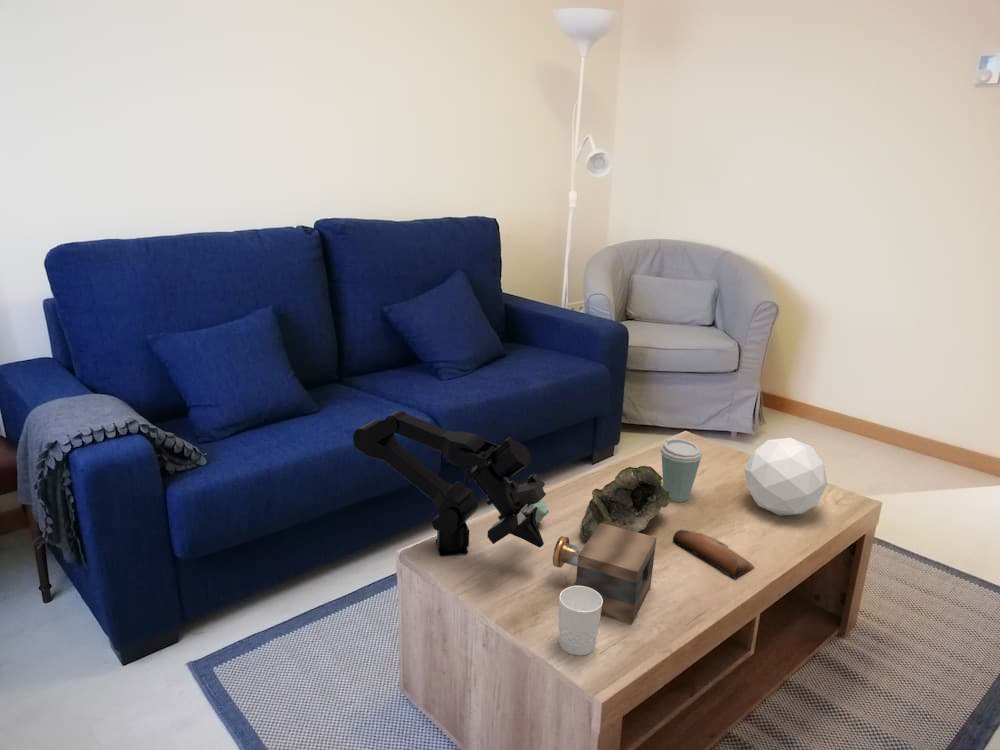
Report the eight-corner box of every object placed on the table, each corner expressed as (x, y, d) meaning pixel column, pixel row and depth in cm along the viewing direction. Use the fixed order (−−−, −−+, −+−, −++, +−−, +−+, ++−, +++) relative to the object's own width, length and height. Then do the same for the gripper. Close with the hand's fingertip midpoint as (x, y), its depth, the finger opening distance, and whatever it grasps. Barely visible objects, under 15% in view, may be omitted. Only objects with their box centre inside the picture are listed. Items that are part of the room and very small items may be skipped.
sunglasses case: (759, 567, 163) (753, 550, 159) (739, 590, 161) (733, 573, 157) (695, 531, 177) (688, 514, 173) (676, 552, 174) (669, 535, 170)
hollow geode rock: (651, 524, 189) (623, 471, 193) (687, 506, 180) (656, 452, 184) (582, 561, 170) (552, 502, 173) (618, 543, 161) (586, 482, 165)
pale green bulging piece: (518, 518, 179) (520, 493, 177) (530, 513, 182) (532, 488, 180) (542, 531, 174) (543, 506, 172) (553, 526, 177) (555, 501, 174)
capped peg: (551, 571, 152) (553, 544, 150) (563, 556, 157) (565, 530, 155) (608, 588, 147) (611, 561, 145) (617, 572, 152) (620, 545, 150)
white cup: (587, 664, 131) (591, 617, 128) (548, 647, 135) (551, 601, 132) (605, 640, 138) (609, 595, 135) (567, 624, 142) (571, 580, 139)
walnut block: (573, 606, 147) (578, 554, 143) (596, 571, 159) (600, 522, 155) (632, 625, 142) (638, 571, 139) (650, 587, 154) (656, 537, 151)
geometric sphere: (785, 543, 186) (797, 509, 170) (725, 490, 197) (731, 454, 181) (835, 497, 191) (852, 460, 175) (774, 448, 202) (784, 409, 186)
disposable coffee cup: (701, 495, 195) (709, 443, 190) (688, 511, 186) (695, 457, 181) (663, 483, 200) (670, 433, 195) (649, 499, 191) (655, 446, 187)
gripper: (503, 487, 144) (552, 550, 143) (539, 452, 160) (584, 509, 159) (466, 512, 149) (513, 574, 149) (505, 476, 166) (548, 532, 165)
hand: (541, 545), depth 155 cm, fingers closed
